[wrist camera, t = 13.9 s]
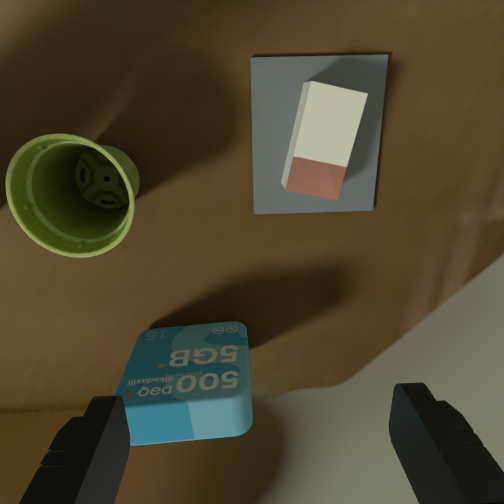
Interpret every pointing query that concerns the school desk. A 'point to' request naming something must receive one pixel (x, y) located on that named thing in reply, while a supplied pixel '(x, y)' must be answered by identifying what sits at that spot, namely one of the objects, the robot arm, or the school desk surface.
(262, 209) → the mat
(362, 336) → the school desk surface
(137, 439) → the data package
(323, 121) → the white rectangular block
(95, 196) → the plant pot
